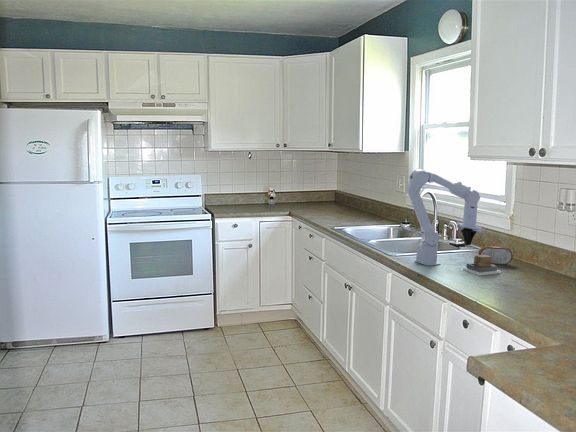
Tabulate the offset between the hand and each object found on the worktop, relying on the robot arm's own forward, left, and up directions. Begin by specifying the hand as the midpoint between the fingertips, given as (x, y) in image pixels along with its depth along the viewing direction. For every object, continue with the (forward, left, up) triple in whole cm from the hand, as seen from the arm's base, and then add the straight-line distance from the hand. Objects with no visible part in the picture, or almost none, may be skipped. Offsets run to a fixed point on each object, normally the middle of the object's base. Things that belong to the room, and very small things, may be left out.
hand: (467, 244), depth 248 cm
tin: (+3, +14, -10) cm, 18 cm away
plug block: (+12, -2, -8) cm, 15 cm away
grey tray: (+12, -3, -9) cm, 16 cm away
